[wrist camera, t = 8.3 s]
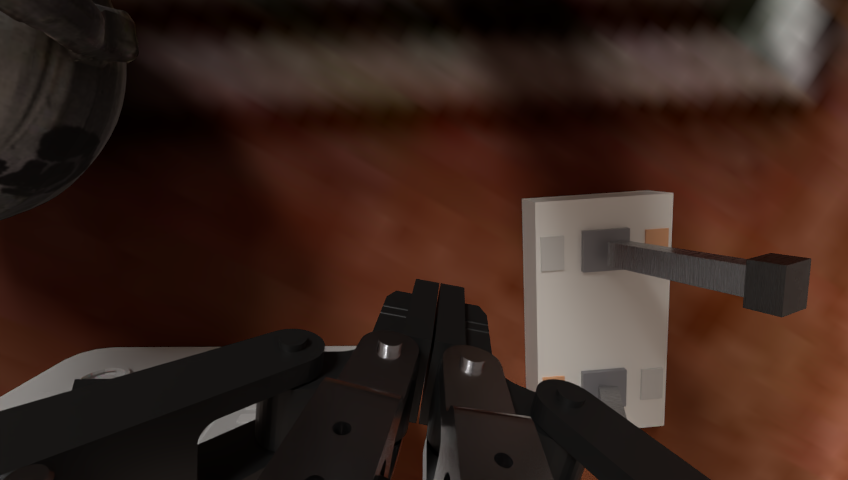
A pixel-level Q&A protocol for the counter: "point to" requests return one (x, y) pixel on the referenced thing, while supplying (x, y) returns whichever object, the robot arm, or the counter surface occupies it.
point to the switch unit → (597, 297)
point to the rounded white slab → (113, 365)
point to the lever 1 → (612, 398)
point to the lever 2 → (723, 273)
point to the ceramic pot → (57, 93)
